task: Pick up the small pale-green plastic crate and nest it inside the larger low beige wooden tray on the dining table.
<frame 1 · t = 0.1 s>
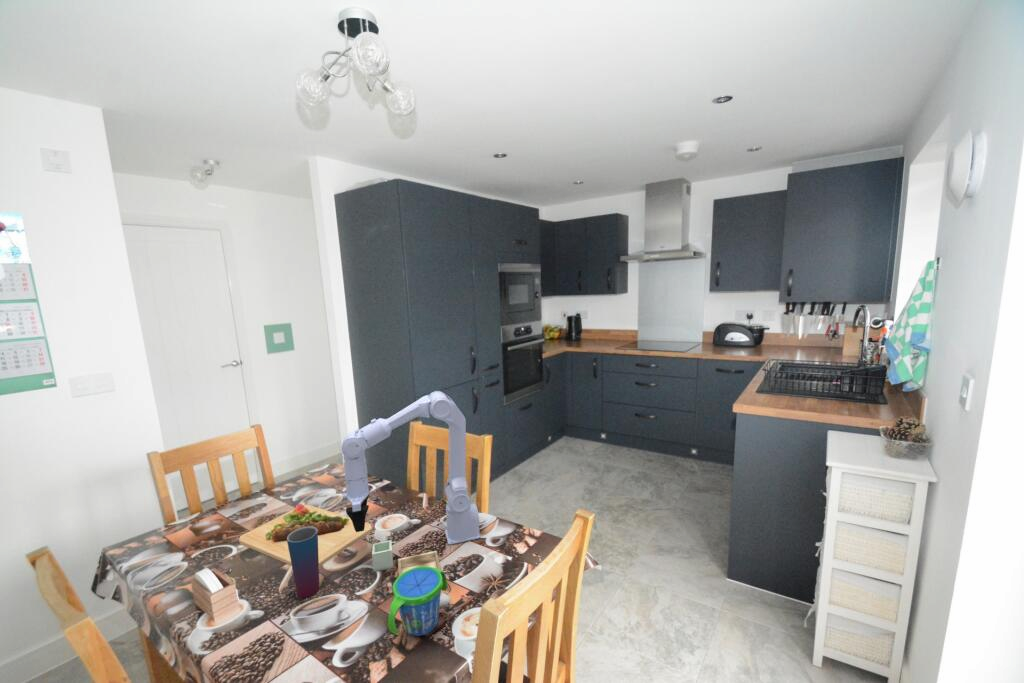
hand: (360, 523, 115), 10 cm above the table, fingers open, 7 cm apart
snack cup: (421, 625, 91), on the table
cutting board: (307, 537, 129), on the table
small crate: (383, 564, 112), on the table
cup: (308, 591, 103), on the table
beige wooden tray: (419, 577, 106), on the table
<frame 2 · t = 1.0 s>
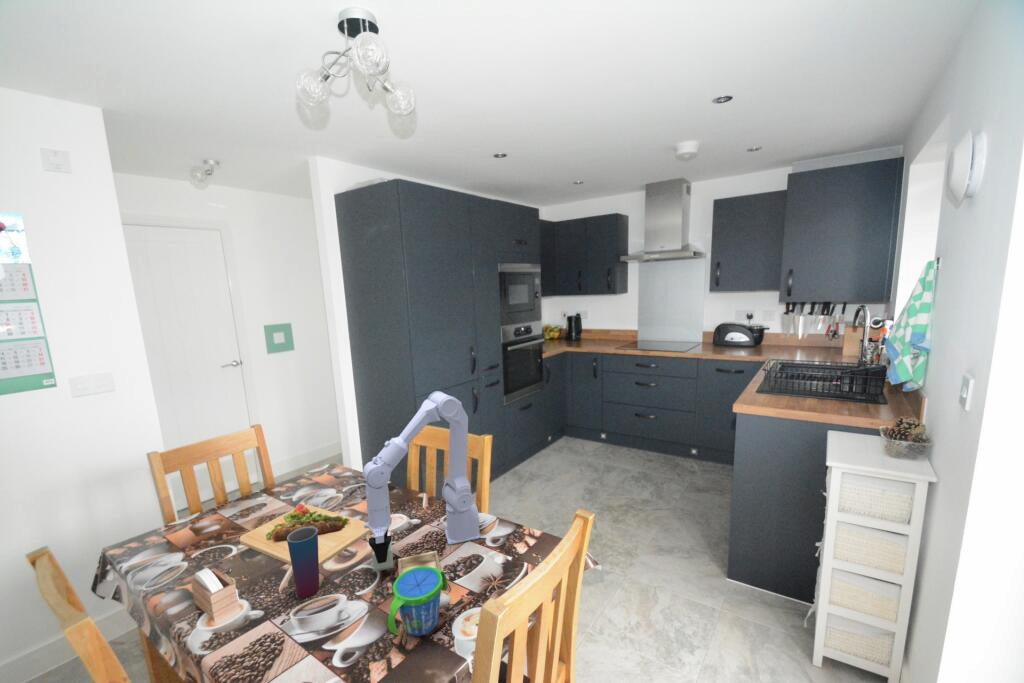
hand: (382, 553, 112), 3 cm above the table, fingers open, 7 cm apart
nothing on the table moved.
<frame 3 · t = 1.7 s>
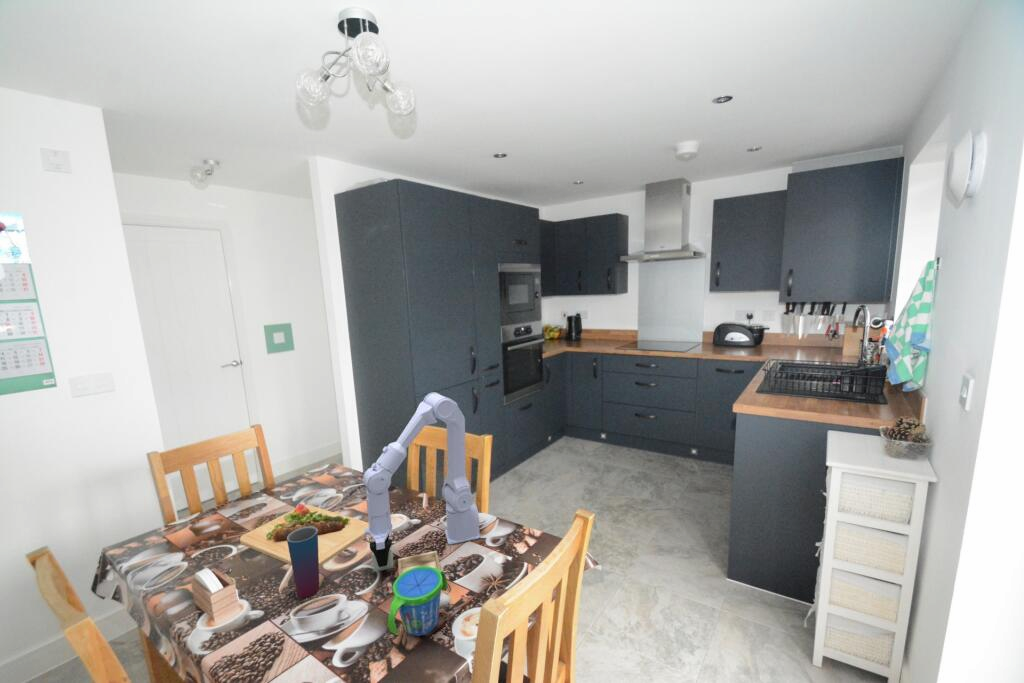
hand: (383, 559, 112), 1 cm above the table, fingers closed on small crate, 5 cm apart
small crate: (383, 564, 112), on the table, touching gripper
everything else where it was.
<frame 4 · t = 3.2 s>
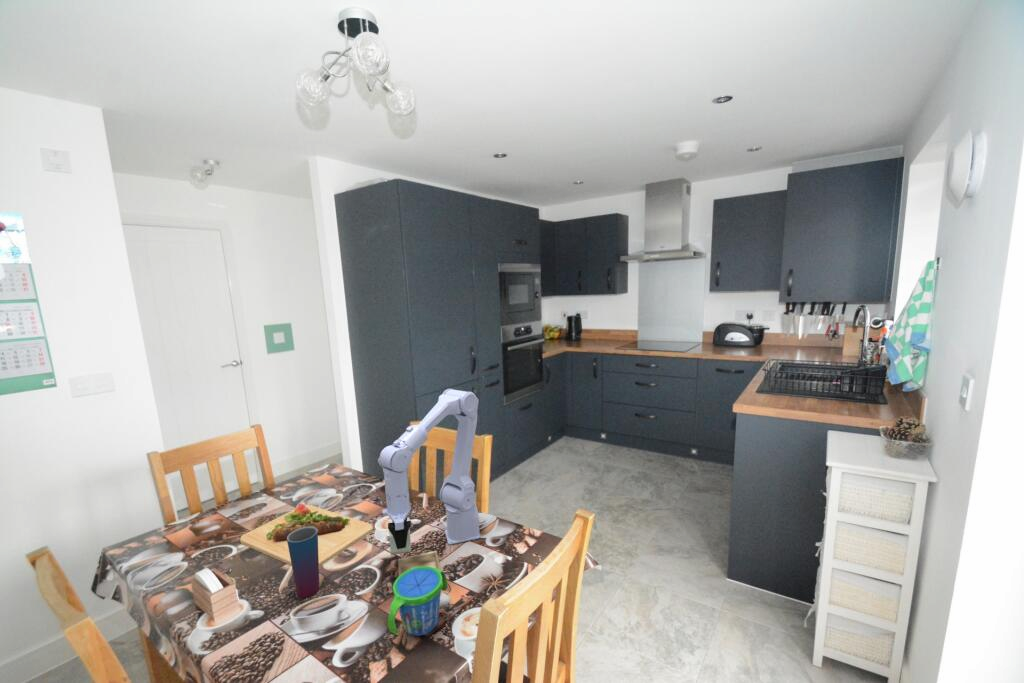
hand: (401, 541, 108), 8 cm above the table, fingers closed on small crate, 5 cm apart
small crate: (400, 547, 108), point 7 cm above the table, touching gripper
everything else where it was.
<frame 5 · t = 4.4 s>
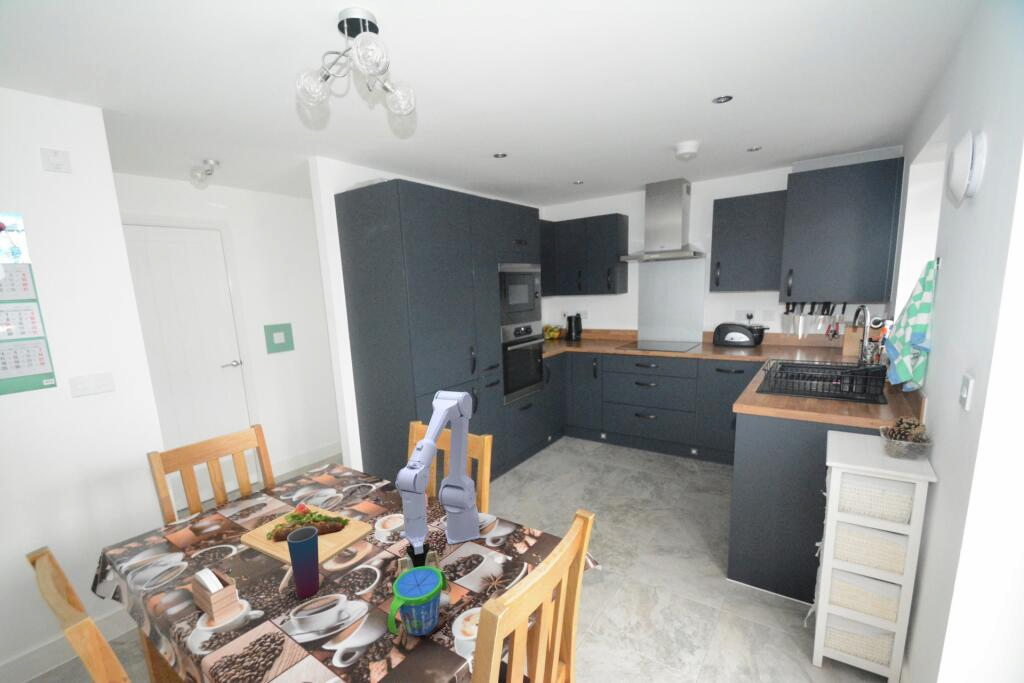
hand: (418, 564, 106), 4 cm above the table, fingers closed on small crate, 5 cm apart
small crate: (418, 570, 106), point 2 cm above the table, touching gripper
everything else where it was.
when the fingers open (3 cm above the table, at t = 5.0 s): small crate drops 1 cm, resting on beige wooden tray.
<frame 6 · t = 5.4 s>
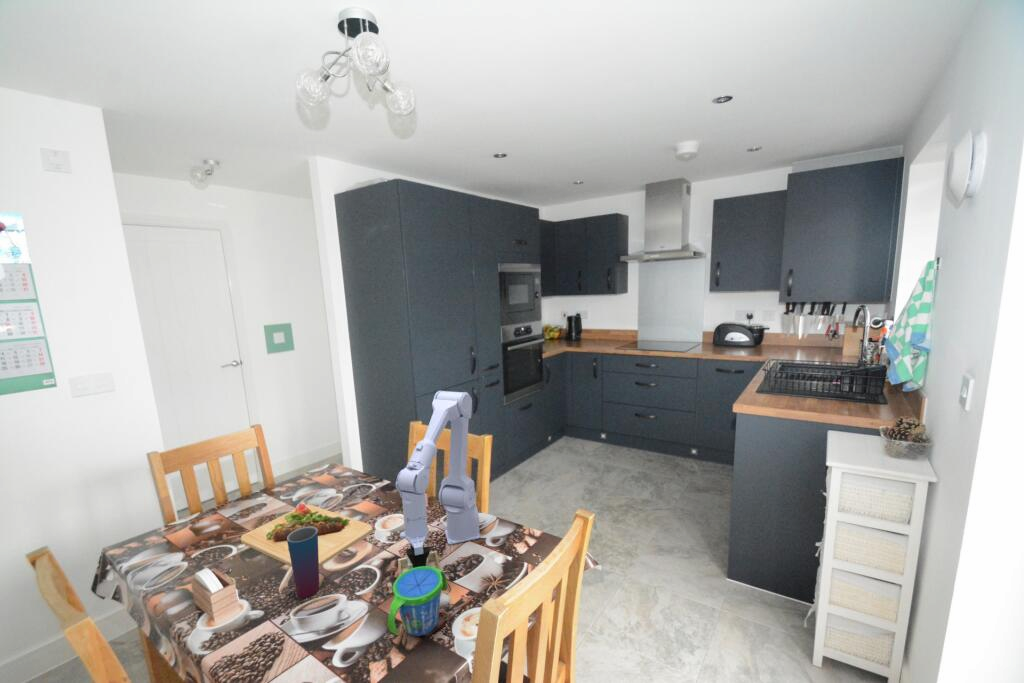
hand: (418, 564, 106), 3 cm above the table, fingers open, 7 cm apart
small crate: (418, 575, 106), resting on beige wooden tray
everything else where it was.
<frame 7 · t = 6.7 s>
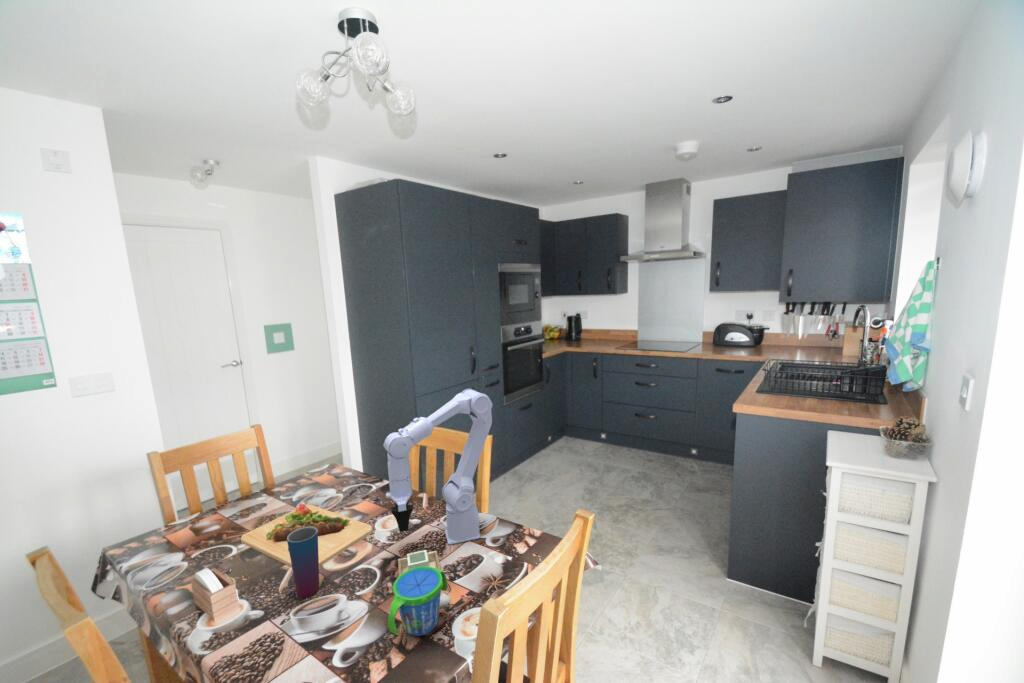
hand: (403, 523, 115), 9 cm above the table, fingers open, 7 cm apart
nothing on the table moved.
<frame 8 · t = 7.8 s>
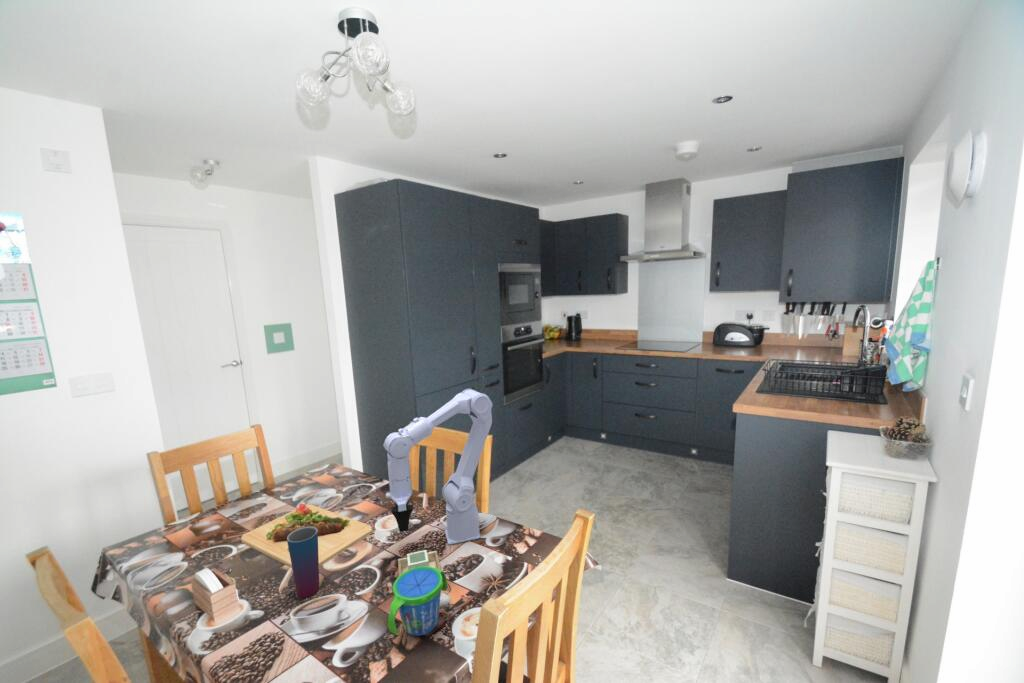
hand: (403, 523, 115), 9 cm above the table, fingers open, 7 cm apart
nothing on the table moved.
at the end: small crate 0.2 cm off-centre on the beige wooden tray, point 0.5 cm above the beige wooden tray's base; small crate tilted 0°; the gripper is holding nothing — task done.
